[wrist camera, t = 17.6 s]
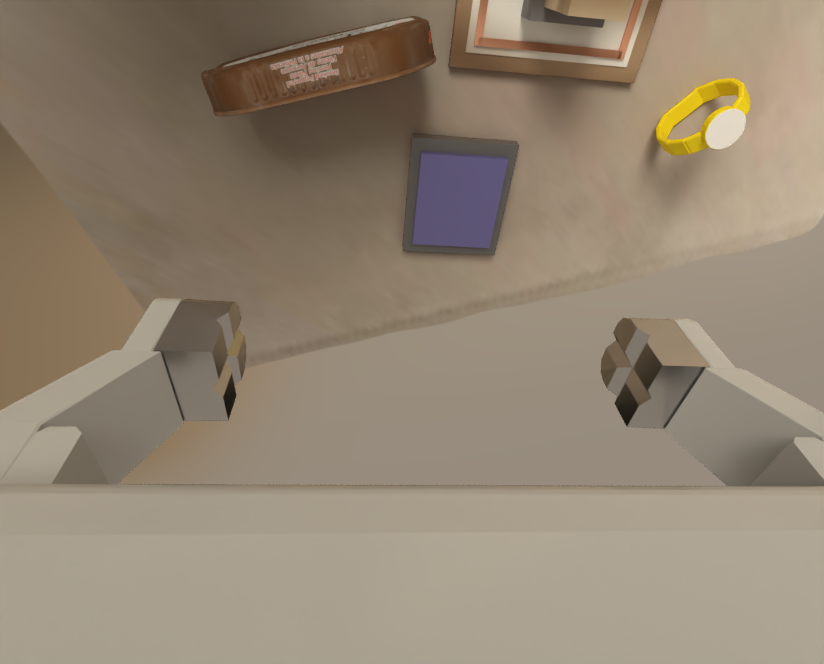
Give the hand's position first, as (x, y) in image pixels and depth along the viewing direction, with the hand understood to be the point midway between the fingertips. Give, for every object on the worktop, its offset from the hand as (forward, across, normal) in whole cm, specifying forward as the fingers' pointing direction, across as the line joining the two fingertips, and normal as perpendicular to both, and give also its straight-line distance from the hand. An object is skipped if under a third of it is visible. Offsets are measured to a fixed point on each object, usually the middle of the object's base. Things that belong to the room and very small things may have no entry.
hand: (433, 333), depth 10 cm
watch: (+31, -23, +2) cm, 39 cm away
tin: (+31, +5, 0) cm, 32 cm away
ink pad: (+31, -6, +10) cm, 33 cm away
